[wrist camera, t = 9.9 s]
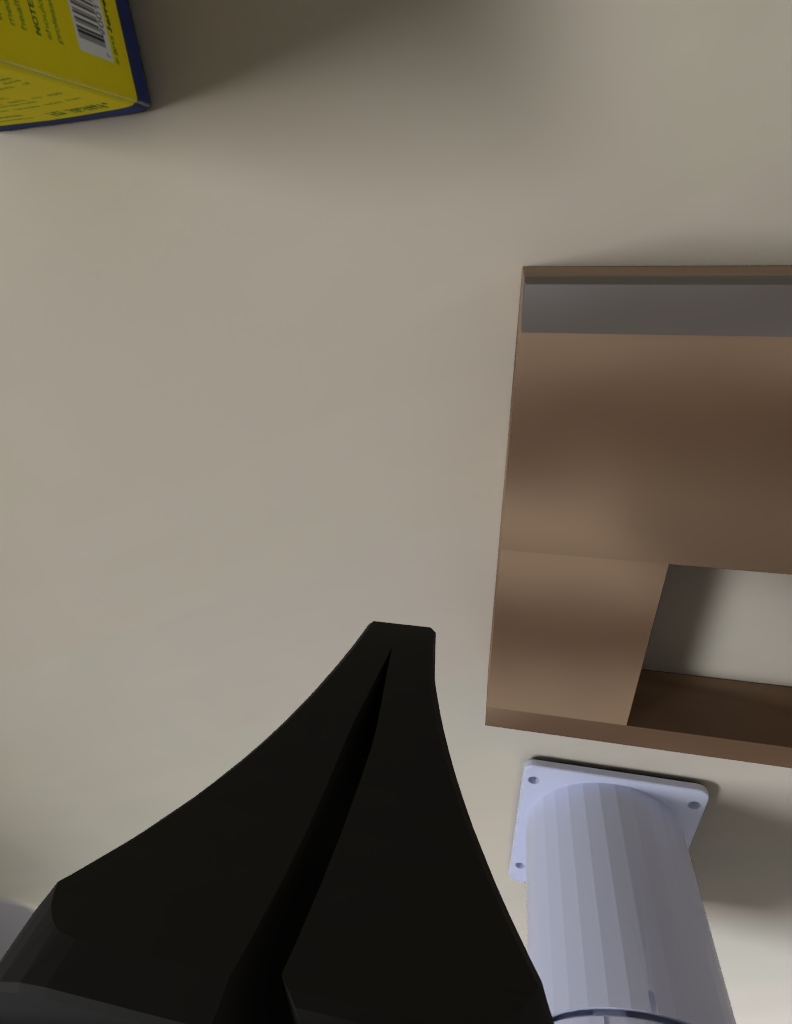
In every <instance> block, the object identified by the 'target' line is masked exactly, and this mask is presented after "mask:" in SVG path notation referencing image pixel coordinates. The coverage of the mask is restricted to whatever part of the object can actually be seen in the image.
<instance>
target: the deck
mask: <svg viewBox="0 0 792 1024" xmlns="http://www.w3.org/2000/svg"><path fill="white" fill-rule="evenodd" d="M669 564H673V565H685V566H697V567H709V568H721V569H733V570H744V571H756V572H768V573H780V574H792V265H769V266H544V267H523V268H522V279H521V291H520V303H519V315H518V327H517V338H516V350H515V362H514V374H513V385H512V397H511V409H510V421H509V433H508V444H507V456H506V468H505V480H504V492H503V503H502V515H501V527H500V539H499V550H498V562H497V574H496V586H495V598H494V609H493V621H492V633H491V645H490V657H489V668H488V685H487V703H486V721H485V725H488V726H495V727H502V728H509V729H516V730H523V731H531V732H538V733H545V734H552V735H559V736H566V737H573V738H580V739H588V740H595V741H602V742H609V743H616V744H623V745H630V746H637V747H645V748H652V749H659V750H666V751H673V752H680V753H687V754H694V755H702V756H709V757H716V758H723V759H730V760H737V761H744V762H751V763H759V764H766V765H773V766H780V767H787V768H792V687H784V686H776V685H767V684H759V683H750V682H742V681H733V680H725V679H716V678H708V677H699V676H690V675H682V674H673V673H665V672H656V671H648V670H641V668H642V664H643V661H644V657H645V653H646V649H647V645H648V642H649V638H650V634H651V630H652V626H653V623H654V619H655V615H656V611H657V608H658V604H659V600H660V596H661V592H662V589H663V585H664V581H665V577H666V573H667V570H668V566H669Z"/></svg>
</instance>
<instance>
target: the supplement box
mask: <svg viewBox="0 0 792 1024" xmlns="http://www.w3.org/2000/svg"><path fill="white" fill-rule="evenodd" d="M150 103H151V102H150V98H149V94H148V90H147V85H146V81H145V77H144V72H143V67H142V63H141V59H140V55H139V46H138V43H137V40H136V36H135V32H134V27H133V22H132V18H131V14H130V10H129V5H128V0H0V131H7V130H15V129H21V128H28V127H35V126H44V125H53V124H60V123H66V122H73V121H81V120H88V119H94V118H101V117H109V116H117V115H125V114H131V113H135V112H140V111H144V110H147V109H148V108H150Z"/></svg>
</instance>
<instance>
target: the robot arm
mask: <svg viewBox="0 0 792 1024" xmlns="http://www.w3.org/2000/svg"><path fill="white" fill-rule="evenodd" d="M435 640H436V633H435V632H434V631H433V630H432V629H431V628H430V627H421V626H412V625H403V624H394V623H385V622H376V621H373V622H372V623H370V624H369V625H368V626H367V628H366V629H365V630H364V632H363V633H362V635H361V636H360V637H359V639H358V640H357V641H356V643H355V644H354V645H353V646H352V648H351V649H350V650H349V651H348V653H347V654H346V655H345V656H344V658H343V659H342V660H341V661H340V662H339V664H338V665H337V666H336V667H335V668H334V670H333V671H332V672H331V673H330V674H329V675H328V676H327V678H326V679H325V680H324V681H323V682H322V683H321V684H320V686H319V687H318V688H317V689H316V690H315V691H314V692H313V693H312V694H311V695H310V696H309V697H308V699H307V700H306V701H305V702H304V703H303V704H302V705H301V706H300V707H299V708H298V709H297V710H296V711H295V712H294V713H293V714H292V715H291V716H290V717H289V718H288V719H287V720H286V721H285V722H284V723H283V724H282V725H281V726H280V727H279V728H278V729H277V730H275V731H274V732H273V733H272V734H271V735H270V736H269V737H268V738H267V739H266V740H265V741H264V742H262V743H261V744H260V745H259V746H258V747H257V748H256V749H254V750H253V751H252V752H251V753H250V754H249V755H247V756H246V757H245V758H244V759H243V760H242V761H240V762H239V763H238V764H236V765H235V766H234V767H233V768H231V769H230V770H229V771H228V772H226V773H225V774H224V775H223V776H221V777H220V778H219V779H218V780H216V781H215V782H214V783H213V784H211V785H210V786H209V787H207V788H206V789H205V790H203V791H202V792H201V793H199V794H198V795H196V796H195V797H194V798H192V799H191V800H189V801H188V802H186V803H185V804H184V805H182V806H181V807H179V808H178V809H176V810H175V811H173V812H172V813H170V814H169V815H167V816H166V817H164V818H163V819H161V820H160V821H158V822H157V823H156V824H154V825H153V826H151V827H150V828H148V829H147V830H145V831H144V832H142V833H141V834H139V835H137V836H136V837H134V838H133V839H131V840H129V841H128V842H126V843H124V844H123V845H121V846H119V847H118V848H116V849H114V850H113V851H111V852H109V853H107V854H106V855H104V856H102V857H101V858H99V859H97V860H95V861H94V862H92V863H90V864H89V865H87V866H85V867H84V868H82V869H80V870H78V871H77V872H75V873H73V874H71V875H70V876H68V877H66V878H64V879H62V880H60V881H59V882H57V884H56V885H55V886H54V888H53V889H52V890H51V892H50V893H49V894H48V895H47V897H46V898H45V899H44V900H43V902H42V903H41V904H40V905H39V906H38V908H37V909H36V910H35V912H34V913H33V914H32V916H31V917H30V919H29V920H28V922H27V923H26V925H25V926H24V927H23V929H22V930H21V932H20V933H19V935H18V936H17V938H16V939H15V941H14V942H13V943H12V945H11V946H10V948H9V949H8V951H7V952H6V954H5V955H4V956H3V958H2V960H1V961H0V1024H736V1022H735V1018H734V1015H733V1011H732V1007H731V1004H730V1000H729V996H728V993H727V989H726V986H725V982H724V978H723V975H722V971H721V967H720V964H719V960H718V957H717V953H716V949H715V946H714V942H713V938H712V935H711V931H710V927H709V924H708V920H707V917H706V913H705V909H704V906H703V902H702V898H701V895H700V891H699V888H698V884H697V880H696V877H695V873H694V869H693V866H692V862H691V859H690V855H689V851H688V850H689V847H690V845H691V842H692V840H693V837H694V835H695V832H696V830H697V827H698V825H699V822H700V820H701V817H702V815H703V813H704V810H705V808H706V805H707V803H708V800H709V794H708V791H707V789H706V788H705V787H704V786H703V785H700V784H697V783H690V782H683V781H676V780H670V779H663V778H656V777H650V776H643V775H636V774H629V773H623V772H616V771H609V770H603V769H596V768H589V767H582V766H576V765H569V764H562V763H556V762H549V761H542V760H534V759H531V760H528V761H526V762H525V763H524V766H523V773H522V780H521V788H520V795H519V802H518V809H517V816H516V823H515V830H514V837H513V844H512V851H511V858H510V865H509V876H510V877H511V878H512V879H514V880H516V881H520V882H526V891H527V944H528V953H527V951H526V949H525V947H524V945H523V942H522V940H521V938H520V936H519V934H518V932H517V930H516V928H515V926H514V924H513V922H512V919H511V917H510V915H509V913H508V910H507V908H506V906H505V904H504V902H503V899H502V897H501V895H500V893H499V890H498V888H497V886H496V884H495V881H494V879H493V876H492V874H491V871H490V869H489V866H488V864H487V861H486V859H485V856H484V854H483V851H482V849H481V846H480V844H479V841H478V839H477V836H476V834H475V831H474V829H473V826H472V823H471V820H470V818H469V815H468V812H467V809H466V806H465V803H464V800H463V797H462V794H461V791H460V788H459V785H458V781H457V778H456V775H455V772H454V768H453V765H452V761H451V758H450V754H449V750H448V746H447V742H446V738H445V734H444V730H443V725H442V720H441V716H440V710H439V704H438V698H437V692H436V686H435Z"/></svg>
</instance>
